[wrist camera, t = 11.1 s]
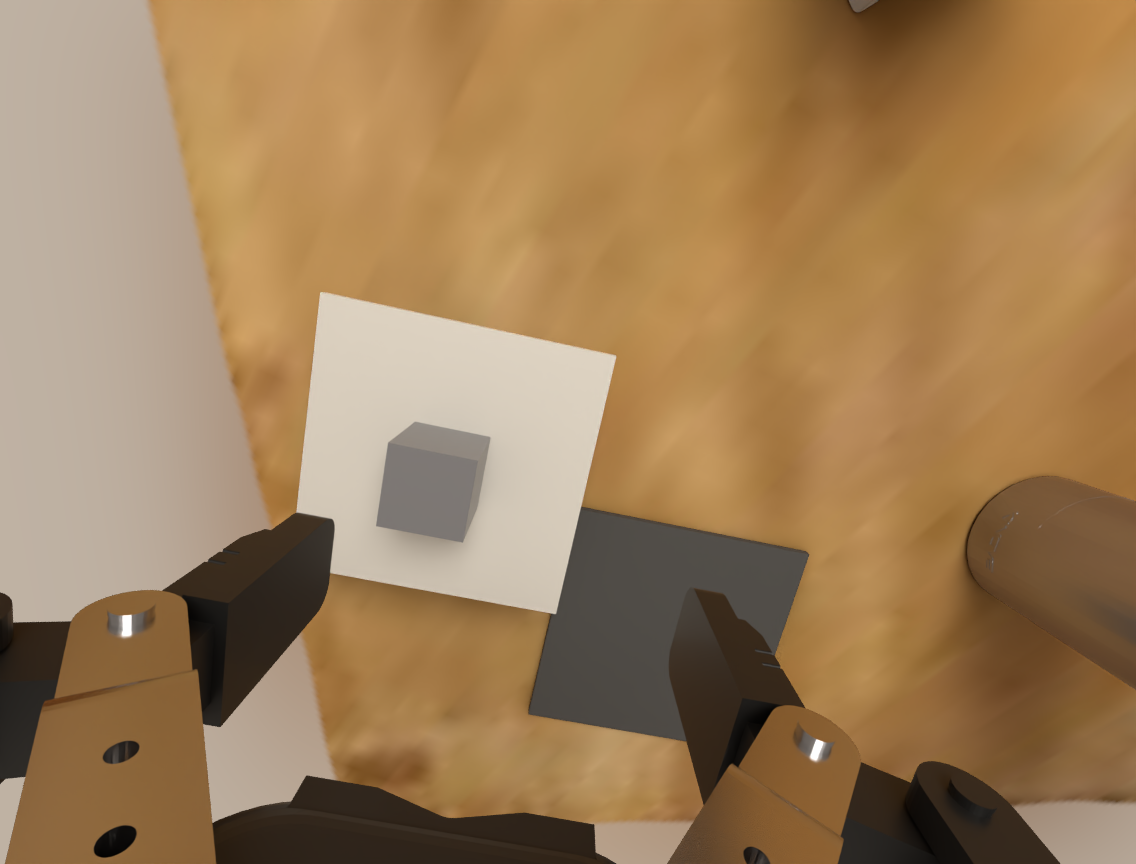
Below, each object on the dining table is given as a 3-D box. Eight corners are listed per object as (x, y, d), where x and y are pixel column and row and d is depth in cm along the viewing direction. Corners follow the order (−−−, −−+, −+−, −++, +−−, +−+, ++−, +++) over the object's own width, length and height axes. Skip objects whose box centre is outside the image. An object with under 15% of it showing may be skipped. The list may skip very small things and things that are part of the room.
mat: (805, 551, 36) (809, 554, 35) (739, 745, 39) (741, 750, 39) (576, 505, 35) (576, 508, 34) (528, 709, 38) (528, 714, 38)
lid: (614, 354, 28) (627, 365, 23) (555, 606, 31) (555, 665, 26) (327, 292, 27) (272, 288, 22) (297, 559, 30) (243, 610, 25)
